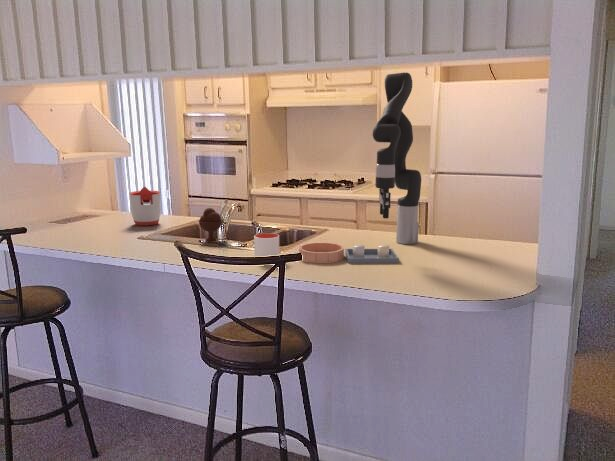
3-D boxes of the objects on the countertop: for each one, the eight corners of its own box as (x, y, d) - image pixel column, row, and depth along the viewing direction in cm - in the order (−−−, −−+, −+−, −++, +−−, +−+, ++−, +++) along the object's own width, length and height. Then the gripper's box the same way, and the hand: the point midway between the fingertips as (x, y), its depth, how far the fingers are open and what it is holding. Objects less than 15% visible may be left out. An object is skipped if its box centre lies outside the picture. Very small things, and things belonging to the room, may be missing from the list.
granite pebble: (363, 256, 229) (363, 244, 228) (364, 259, 225) (365, 247, 224) (352, 256, 229) (352, 244, 228) (353, 259, 225) (353, 247, 224)
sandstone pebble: (387, 256, 229) (388, 244, 228) (389, 259, 225) (390, 247, 224) (376, 256, 229) (377, 244, 228) (378, 259, 225) (378, 247, 224)
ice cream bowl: (194, 241, 258) (193, 209, 255) (209, 236, 268) (208, 205, 265) (213, 244, 253) (211, 211, 250) (227, 239, 263) (226, 207, 260)
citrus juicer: (132, 228, 287) (130, 189, 282) (130, 222, 303) (127, 185, 298) (164, 226, 292) (162, 188, 288) (160, 220, 308) (158, 184, 304)
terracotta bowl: (341, 252, 238) (341, 242, 237) (344, 264, 220) (345, 252, 219) (299, 252, 238) (299, 242, 237) (299, 264, 220) (299, 253, 219)
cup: (282, 257, 230) (282, 233, 228) (275, 263, 221) (275, 238, 219) (259, 256, 233) (258, 232, 230) (251, 262, 223) (250, 237, 221)
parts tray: (391, 254, 235) (392, 248, 234) (398, 264, 220) (398, 258, 219) (345, 254, 235) (345, 248, 234) (348, 264, 219) (348, 258, 219)
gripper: (397, 177, 213) (396, 219, 217) (392, 173, 227) (390, 213, 231) (378, 177, 213) (377, 219, 217) (373, 173, 227) (372, 213, 230)
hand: (384, 216), depth 224 cm, fingers open, 8 cm apart
